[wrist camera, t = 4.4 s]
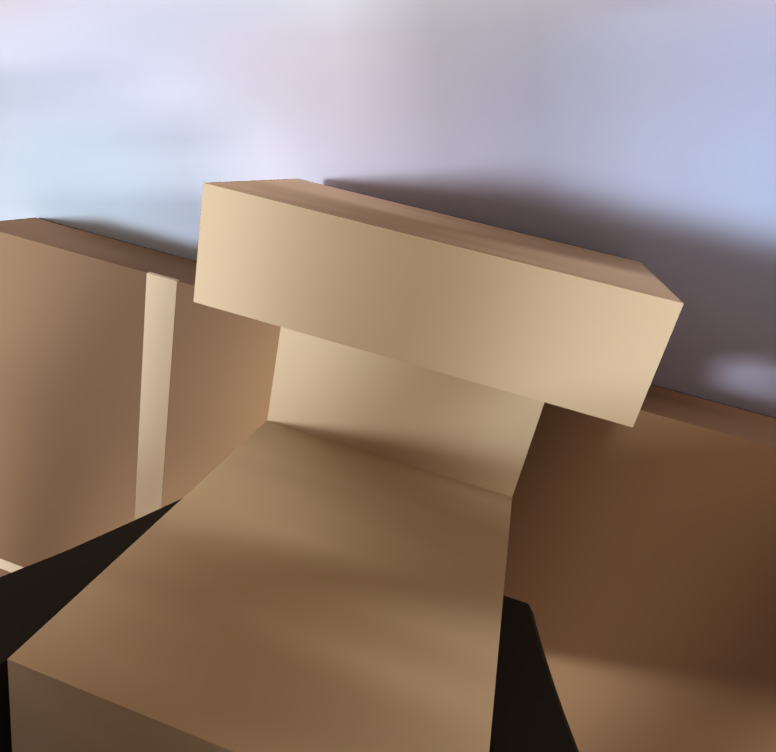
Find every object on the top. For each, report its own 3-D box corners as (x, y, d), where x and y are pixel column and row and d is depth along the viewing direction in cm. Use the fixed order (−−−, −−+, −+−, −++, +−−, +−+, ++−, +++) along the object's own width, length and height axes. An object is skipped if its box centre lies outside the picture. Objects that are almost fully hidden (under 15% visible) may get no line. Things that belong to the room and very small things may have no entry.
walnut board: (1115, 510, 9) (1214, 570, 8) (817, 879, 13) (849, 963, 12) (34, 217, 12) (-29, 223, 11) (43, 584, 16) (-4, 623, 15)
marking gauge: (640, 261, 10) (880, 490, 3) (472, 712, 14) (401, 1261, 7) (298, 178, 10) (-151, 198, 4) (234, 623, 14) (-38, 1027, 8)
